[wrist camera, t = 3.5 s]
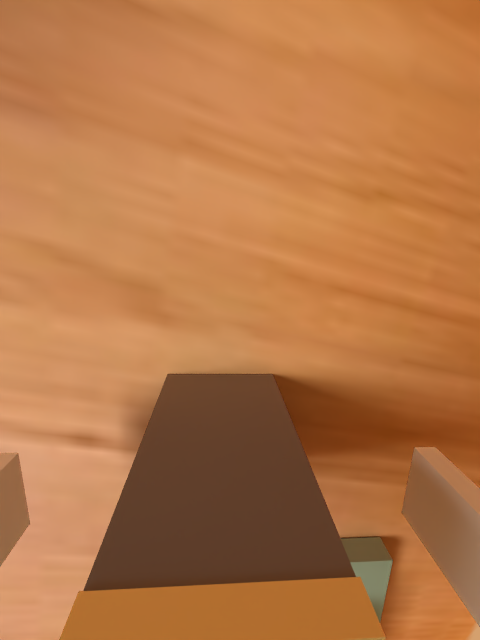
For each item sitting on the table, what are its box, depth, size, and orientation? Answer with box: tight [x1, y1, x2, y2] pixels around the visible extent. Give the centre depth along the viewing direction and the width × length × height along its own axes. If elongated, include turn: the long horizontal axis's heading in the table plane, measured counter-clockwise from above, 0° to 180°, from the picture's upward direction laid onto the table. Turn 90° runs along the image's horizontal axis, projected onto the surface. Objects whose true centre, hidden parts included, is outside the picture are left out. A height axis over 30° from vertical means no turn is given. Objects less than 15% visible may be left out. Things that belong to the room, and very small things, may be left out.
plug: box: [59, 374, 386, 640], centre depth 9 cm, size 5×5×10 cm
